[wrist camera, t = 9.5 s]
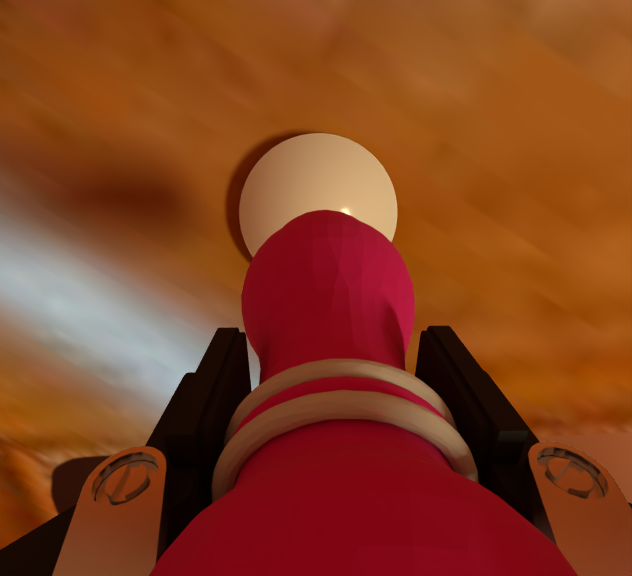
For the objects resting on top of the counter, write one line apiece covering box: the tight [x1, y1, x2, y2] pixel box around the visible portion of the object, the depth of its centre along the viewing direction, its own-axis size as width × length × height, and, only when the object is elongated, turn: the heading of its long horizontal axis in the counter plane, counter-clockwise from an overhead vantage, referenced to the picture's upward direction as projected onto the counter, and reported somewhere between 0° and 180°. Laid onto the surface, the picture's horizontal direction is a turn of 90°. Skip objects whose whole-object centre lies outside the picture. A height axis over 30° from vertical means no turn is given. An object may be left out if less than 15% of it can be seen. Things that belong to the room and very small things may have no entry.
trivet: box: [239, 133, 397, 257], centre depth 31 cm, size 14×14×2 cm
